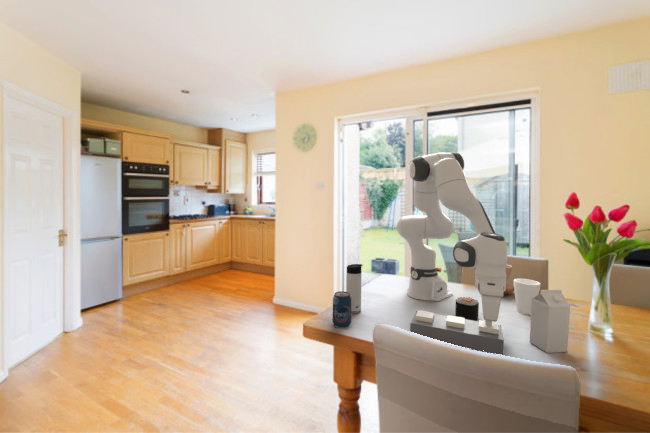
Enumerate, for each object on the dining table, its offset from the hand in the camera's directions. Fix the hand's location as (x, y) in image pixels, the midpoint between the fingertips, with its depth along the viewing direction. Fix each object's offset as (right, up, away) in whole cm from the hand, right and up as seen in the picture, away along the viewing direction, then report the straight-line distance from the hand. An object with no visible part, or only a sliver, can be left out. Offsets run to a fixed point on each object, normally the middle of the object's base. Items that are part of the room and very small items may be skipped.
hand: (488, 324), depth 100 cm
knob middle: (-9, -5, +5) cm, 11 cm away
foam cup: (+31, -5, +29) cm, 43 cm away
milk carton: (+19, -7, -1) cm, 20 cm away
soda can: (-47, -6, +15) cm, 50 cm away
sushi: (+3, -6, +22) cm, 23 cm away
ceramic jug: (+34, -3, +55) cm, 65 cm away
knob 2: (0, -5, +1) cm, 5 cm away
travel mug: (-41, -5, +29) cm, 51 cm away
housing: (-9, -6, +5) cm, 12 cm away
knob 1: (-18, -5, +9) cm, 21 cm away
